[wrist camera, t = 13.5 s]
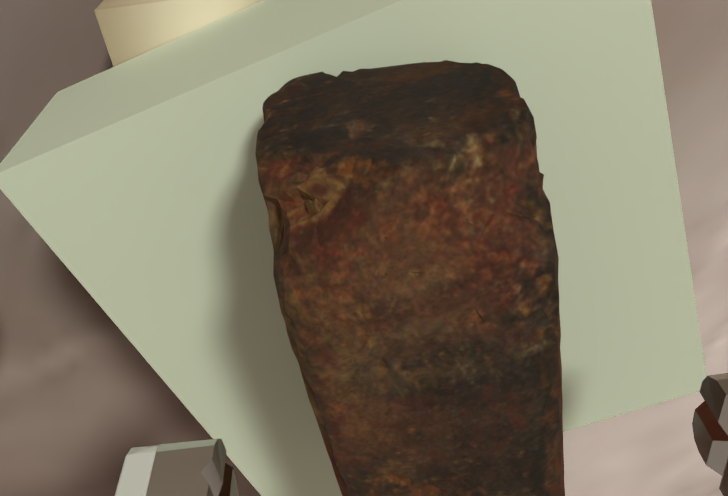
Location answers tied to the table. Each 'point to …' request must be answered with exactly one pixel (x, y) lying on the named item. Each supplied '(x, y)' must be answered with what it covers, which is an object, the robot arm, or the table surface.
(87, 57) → the table surface
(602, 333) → the upper slab
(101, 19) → the lower slab
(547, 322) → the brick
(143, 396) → the table surface
